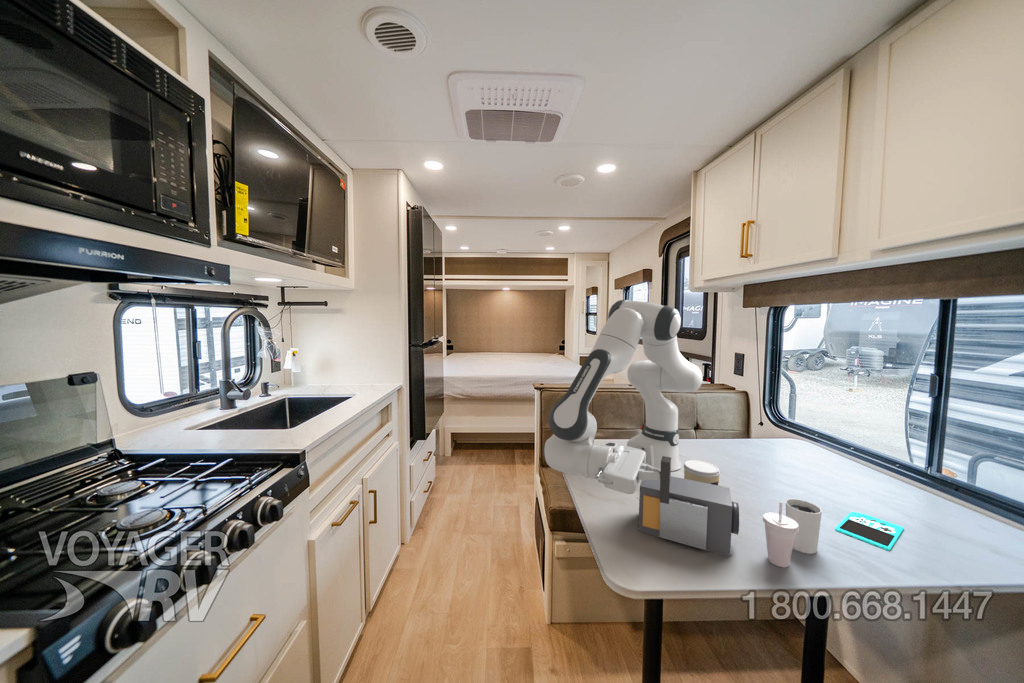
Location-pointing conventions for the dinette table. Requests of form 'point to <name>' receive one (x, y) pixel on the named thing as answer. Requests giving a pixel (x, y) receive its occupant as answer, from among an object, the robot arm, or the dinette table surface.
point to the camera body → (715, 497)
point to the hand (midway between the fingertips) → (660, 475)
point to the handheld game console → (870, 530)
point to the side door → (680, 514)
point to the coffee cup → (701, 472)
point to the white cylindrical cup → (805, 524)
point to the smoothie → (779, 537)
